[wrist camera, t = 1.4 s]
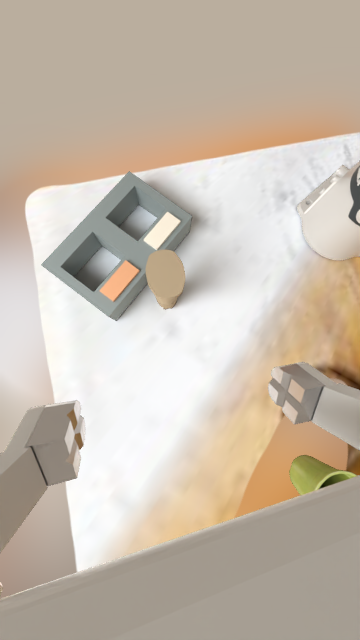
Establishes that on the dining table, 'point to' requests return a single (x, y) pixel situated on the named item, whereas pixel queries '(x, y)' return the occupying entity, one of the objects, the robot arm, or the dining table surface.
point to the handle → (165, 277)
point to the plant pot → (314, 474)
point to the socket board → (119, 244)
